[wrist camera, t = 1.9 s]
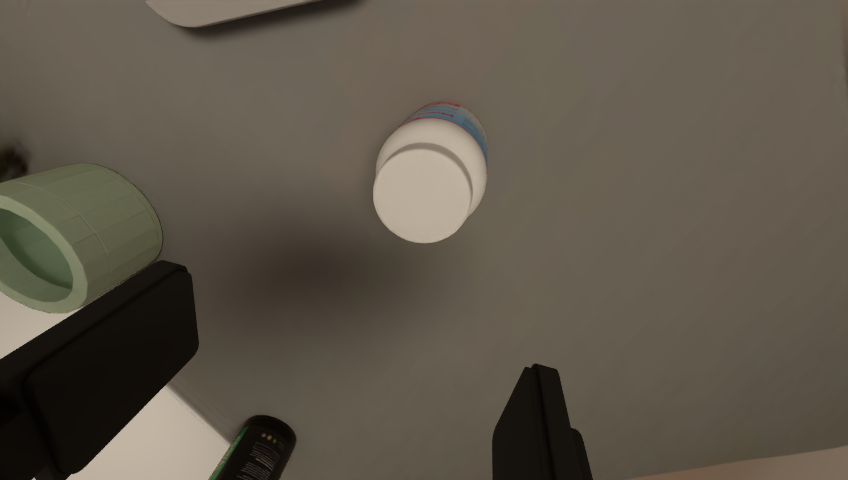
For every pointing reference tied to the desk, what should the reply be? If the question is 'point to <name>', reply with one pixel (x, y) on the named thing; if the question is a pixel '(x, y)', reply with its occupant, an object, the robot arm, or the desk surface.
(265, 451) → the supplement bottle
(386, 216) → the pill bottle
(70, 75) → the desk surface
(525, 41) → the desk surface
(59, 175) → the green cylindrical sleeve
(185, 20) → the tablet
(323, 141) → the desk surface
